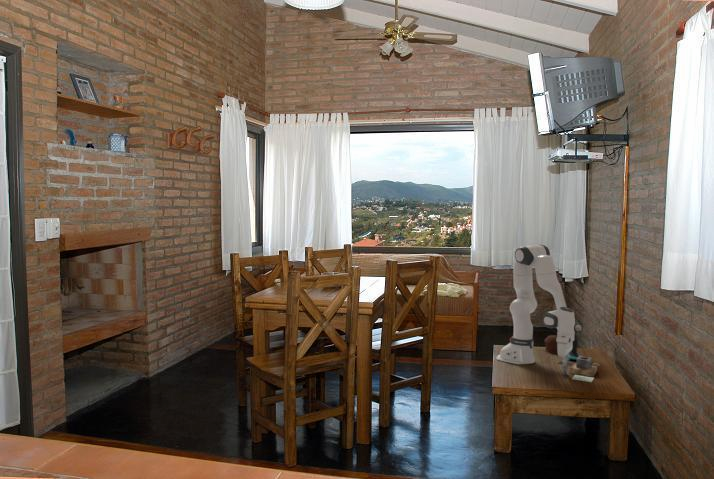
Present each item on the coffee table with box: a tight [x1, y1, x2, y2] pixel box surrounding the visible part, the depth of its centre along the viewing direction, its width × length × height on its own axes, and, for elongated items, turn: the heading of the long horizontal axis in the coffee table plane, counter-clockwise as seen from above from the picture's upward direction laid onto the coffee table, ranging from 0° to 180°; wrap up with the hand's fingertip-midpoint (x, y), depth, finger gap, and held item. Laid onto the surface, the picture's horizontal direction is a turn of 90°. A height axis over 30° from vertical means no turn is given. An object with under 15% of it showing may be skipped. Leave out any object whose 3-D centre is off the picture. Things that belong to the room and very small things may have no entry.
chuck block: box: [570, 355, 600, 378], centre depth 319 cm, size 14×12×8 cm
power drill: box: [568, 318, 584, 362], centre depth 344 cm, size 26×9×25 cm, turn 168°
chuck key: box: [557, 356, 573, 376], centre depth 314 cm, size 8×3×10 cm, turn 57°
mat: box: [571, 374, 595, 383], centre depth 308 cm, size 10×8×1 cm
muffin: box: [543, 334, 558, 354], centre depth 365 cm, size 12×11×10 cm
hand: (565, 361), depth 314 cm, fingers closed on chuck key, 3 cm apart
